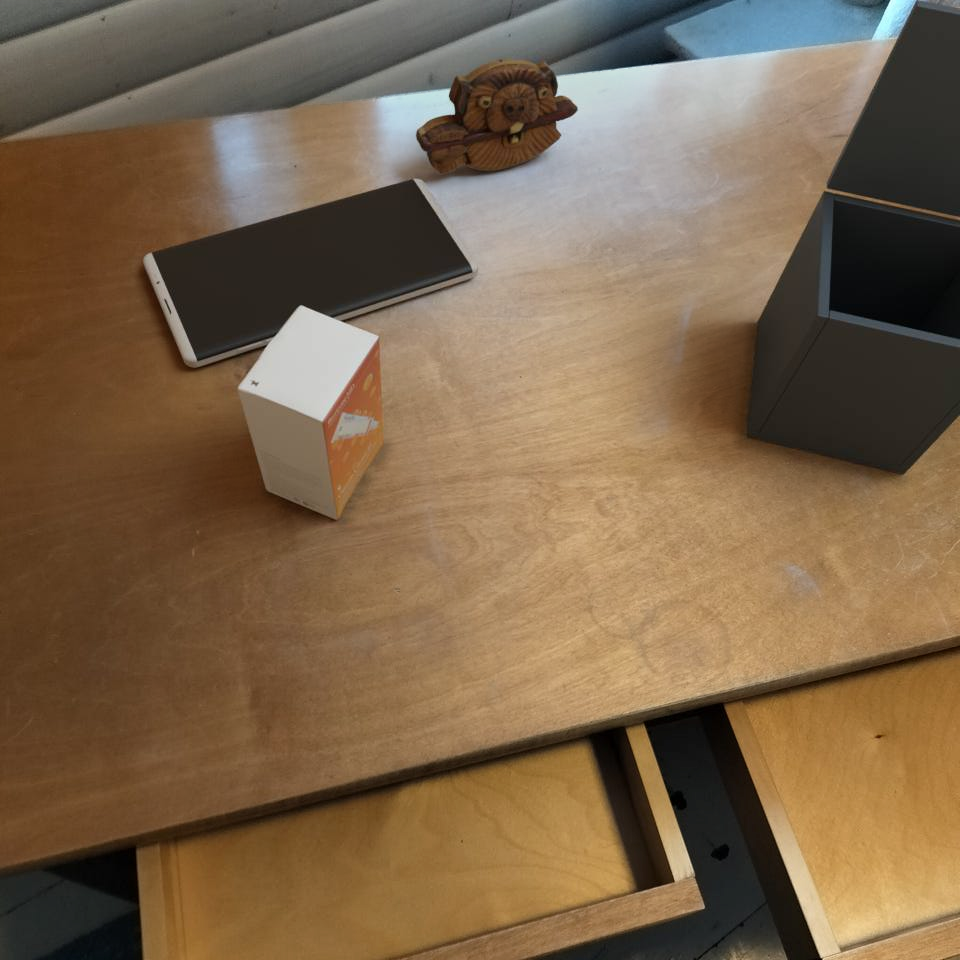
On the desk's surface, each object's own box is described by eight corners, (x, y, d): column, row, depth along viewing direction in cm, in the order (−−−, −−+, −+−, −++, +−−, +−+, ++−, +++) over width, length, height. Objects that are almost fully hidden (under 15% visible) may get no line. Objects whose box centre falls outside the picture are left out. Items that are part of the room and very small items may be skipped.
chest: (904, 474, 69) (1012, 359, 57) (745, 436, 70) (817, 315, 58) (902, 354, 76) (998, 227, 64) (757, 321, 77) (823, 190, 65)
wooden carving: (432, 199, 83) (434, 108, 74) (412, 170, 85) (412, 78, 76) (577, 156, 87) (594, 65, 79) (554, 129, 89) (569, 38, 81)
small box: (338, 523, 64) (322, 424, 53) (264, 491, 65) (233, 387, 54) (387, 442, 68) (381, 334, 57) (316, 413, 69) (297, 301, 58)
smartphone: (481, 279, 78) (482, 266, 76) (189, 375, 70) (184, 362, 69) (420, 188, 83) (420, 173, 82) (144, 267, 76) (139, 252, 74)
